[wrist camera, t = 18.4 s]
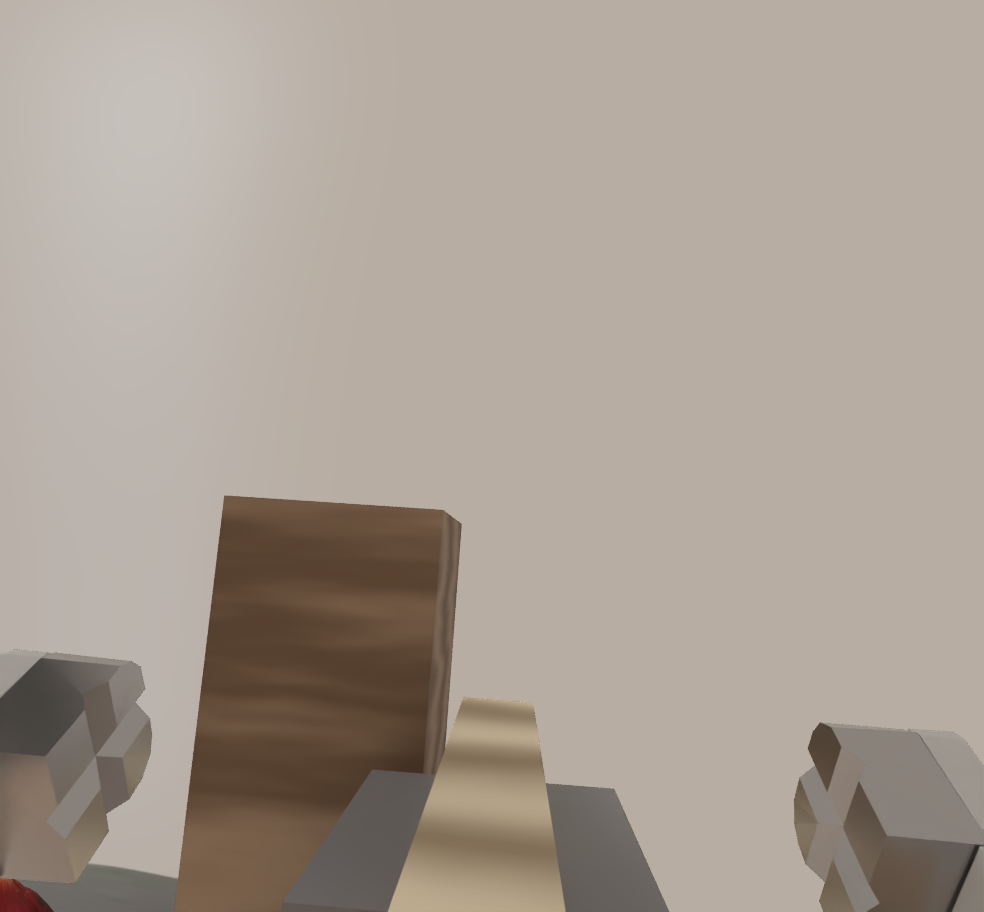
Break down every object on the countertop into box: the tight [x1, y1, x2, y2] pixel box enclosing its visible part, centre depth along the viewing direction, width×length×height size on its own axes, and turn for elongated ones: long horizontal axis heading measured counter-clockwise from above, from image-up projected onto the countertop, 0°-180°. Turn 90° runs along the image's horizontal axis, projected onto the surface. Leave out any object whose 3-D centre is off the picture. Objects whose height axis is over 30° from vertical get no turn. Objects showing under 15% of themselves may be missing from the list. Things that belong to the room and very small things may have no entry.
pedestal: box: [174, 496, 461, 912], centre depth 37 cm, size 12×10×26 cm
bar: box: [388, 697, 566, 912], centre depth 21 cm, size 20×3×3 cm, turn 178°
